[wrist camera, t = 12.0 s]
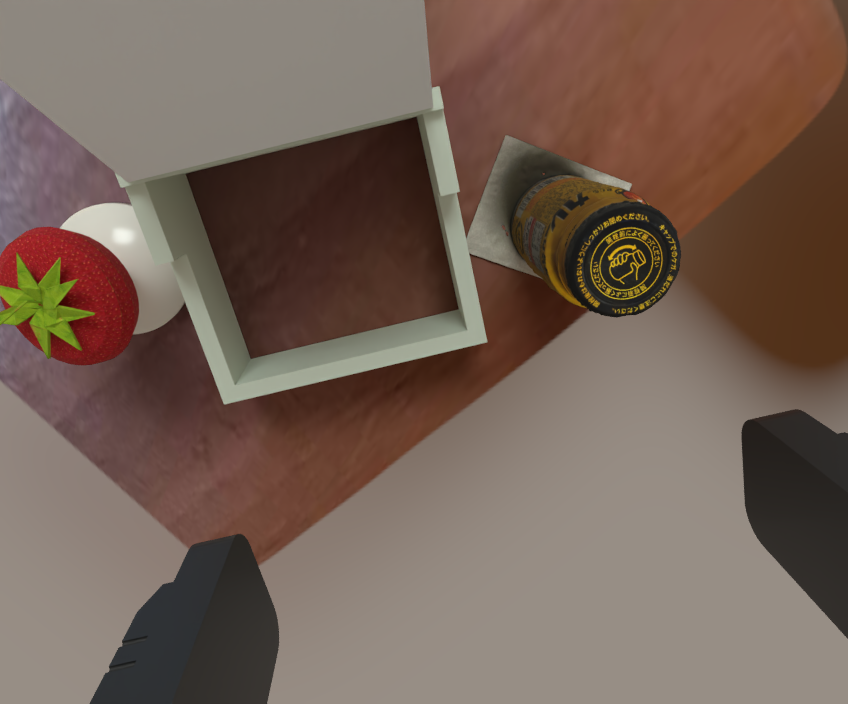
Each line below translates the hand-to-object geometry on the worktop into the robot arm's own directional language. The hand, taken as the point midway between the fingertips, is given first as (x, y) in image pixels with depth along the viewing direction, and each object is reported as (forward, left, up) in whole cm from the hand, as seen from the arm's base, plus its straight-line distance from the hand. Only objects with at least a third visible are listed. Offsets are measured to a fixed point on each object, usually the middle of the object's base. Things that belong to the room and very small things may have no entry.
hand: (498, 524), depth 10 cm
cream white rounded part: (-2, -18, -30) cm, 35 cm away
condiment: (+1, +8, -30) cm, 31 cm away
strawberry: (-2, -18, -30) cm, 35 cm away
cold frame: (-3, -5, -30) cm, 31 cm away
